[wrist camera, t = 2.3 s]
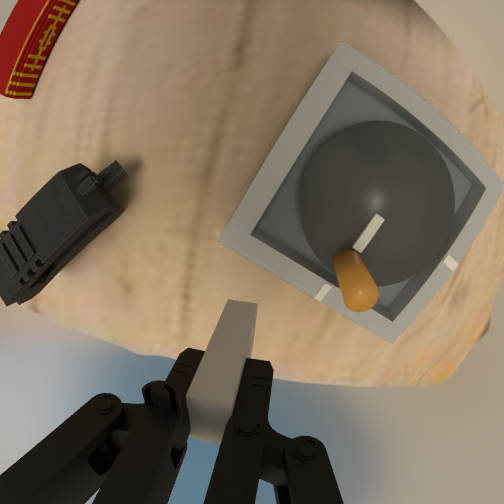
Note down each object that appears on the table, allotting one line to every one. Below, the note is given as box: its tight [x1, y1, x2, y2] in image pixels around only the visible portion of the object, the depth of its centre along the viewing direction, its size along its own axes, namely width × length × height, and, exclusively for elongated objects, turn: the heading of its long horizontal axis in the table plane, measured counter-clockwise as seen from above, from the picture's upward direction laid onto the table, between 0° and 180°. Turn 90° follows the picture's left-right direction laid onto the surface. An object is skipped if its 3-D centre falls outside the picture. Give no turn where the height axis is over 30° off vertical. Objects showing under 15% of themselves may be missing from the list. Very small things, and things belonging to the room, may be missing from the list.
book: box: [0, 0, 78, 99], centre depth 20 cm, size 18×13×5 cm
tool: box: [0, 160, 127, 306], centre depth 26 cm, size 6×19×15 cm, turn 126°
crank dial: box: [299, 120, 455, 312], centre depth 19 cm, size 14×14×8 cm
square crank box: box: [218, 41, 504, 344], centre depth 23 cm, size 20×20×5 cm
